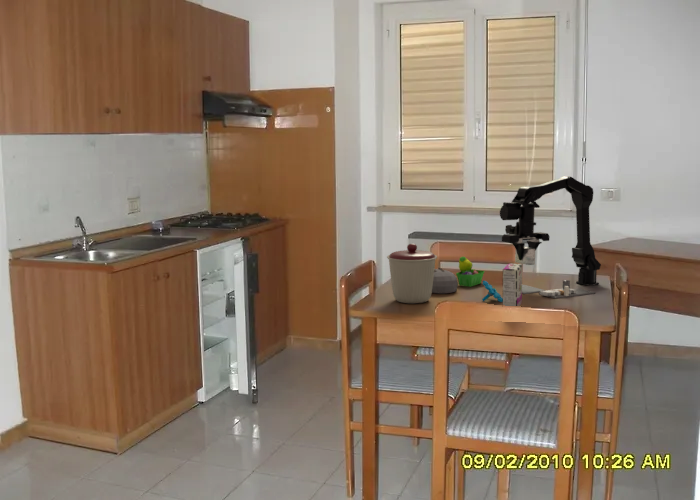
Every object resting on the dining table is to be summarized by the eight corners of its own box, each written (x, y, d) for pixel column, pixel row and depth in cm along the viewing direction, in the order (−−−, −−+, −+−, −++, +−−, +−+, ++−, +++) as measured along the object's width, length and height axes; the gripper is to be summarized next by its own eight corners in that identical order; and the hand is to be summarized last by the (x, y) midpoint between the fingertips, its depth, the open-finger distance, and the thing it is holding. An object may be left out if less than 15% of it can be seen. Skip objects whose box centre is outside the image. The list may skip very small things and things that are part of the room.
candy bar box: (507, 310, 247) (507, 263, 244) (522, 311, 245) (523, 263, 243) (501, 318, 236) (502, 268, 234) (516, 319, 235) (517, 269, 232)
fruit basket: (472, 287, 288) (472, 259, 286) (452, 285, 293) (452, 257, 291) (485, 283, 297) (485, 256, 295) (465, 281, 302) (466, 254, 300)
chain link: (521, 261, 286) (521, 246, 285) (537, 264, 277) (537, 249, 277) (513, 261, 284) (513, 246, 284) (528, 265, 276) (529, 249, 275)
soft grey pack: (412, 286, 293) (426, 296, 274) (412, 266, 292) (426, 274, 273) (448, 284, 296) (465, 294, 276) (448, 264, 295) (465, 272, 275)
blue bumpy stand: (502, 300, 255) (482, 279, 258) (489, 311, 257) (470, 290, 259) (506, 298, 266) (488, 278, 268) (495, 309, 267) (476, 289, 269)
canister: (397, 307, 254) (397, 248, 251) (380, 297, 271) (380, 241, 268) (445, 304, 259) (445, 245, 256) (425, 294, 276) (425, 239, 273)
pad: (523, 285, 290) (523, 284, 290) (545, 291, 278) (545, 290, 278) (503, 288, 286) (503, 286, 286) (524, 294, 274) (524, 292, 274)
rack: (567, 290, 275) (567, 279, 275) (577, 293, 271) (577, 281, 270) (539, 294, 270) (540, 282, 269) (549, 296, 265) (549, 284, 265)
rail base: (578, 289, 281) (578, 279, 280) (595, 293, 273) (596, 283, 272) (538, 294, 273) (539, 283, 272) (555, 298, 265) (555, 287, 264)
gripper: (532, 216, 290) (531, 255, 292) (493, 218, 282) (492, 258, 284) (551, 219, 280) (549, 259, 282) (511, 221, 272) (510, 262, 274)
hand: (525, 259), depth 281 cm, fingers closed on chain link, 4 cm apart
